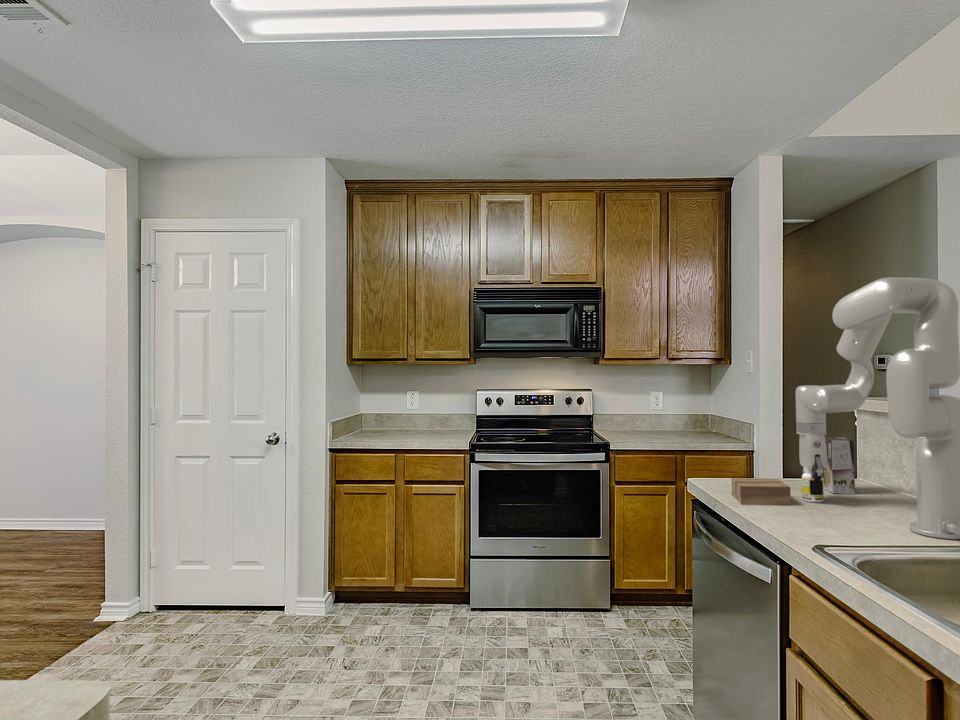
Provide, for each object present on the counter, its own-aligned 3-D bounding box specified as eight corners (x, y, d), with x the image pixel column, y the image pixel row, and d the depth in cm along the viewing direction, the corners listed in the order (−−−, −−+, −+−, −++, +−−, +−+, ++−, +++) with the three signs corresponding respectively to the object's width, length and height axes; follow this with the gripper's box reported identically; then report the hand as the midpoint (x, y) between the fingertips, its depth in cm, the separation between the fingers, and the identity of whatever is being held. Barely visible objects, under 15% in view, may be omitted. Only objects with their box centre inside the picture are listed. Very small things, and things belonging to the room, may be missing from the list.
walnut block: (790, 505, 181) (790, 487, 181) (741, 504, 183) (740, 486, 183) (778, 495, 194) (777, 478, 194) (731, 494, 196) (731, 478, 196)
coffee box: (856, 494, 194) (854, 439, 194) (832, 494, 195) (831, 439, 195) (845, 488, 203) (844, 436, 203) (822, 488, 204) (821, 436, 204)
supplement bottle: (823, 499, 187) (822, 465, 187) (823, 503, 182) (822, 468, 182) (802, 498, 190) (801, 464, 190) (802, 501, 185) (801, 467, 185)
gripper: (836, 431, 177) (837, 498, 177) (815, 425, 194) (817, 487, 194) (806, 432, 178) (808, 498, 178) (788, 426, 195) (790, 486, 195)
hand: (812, 491), depth 186 cm, fingers closed on supplement bottle, 5 cm apart
